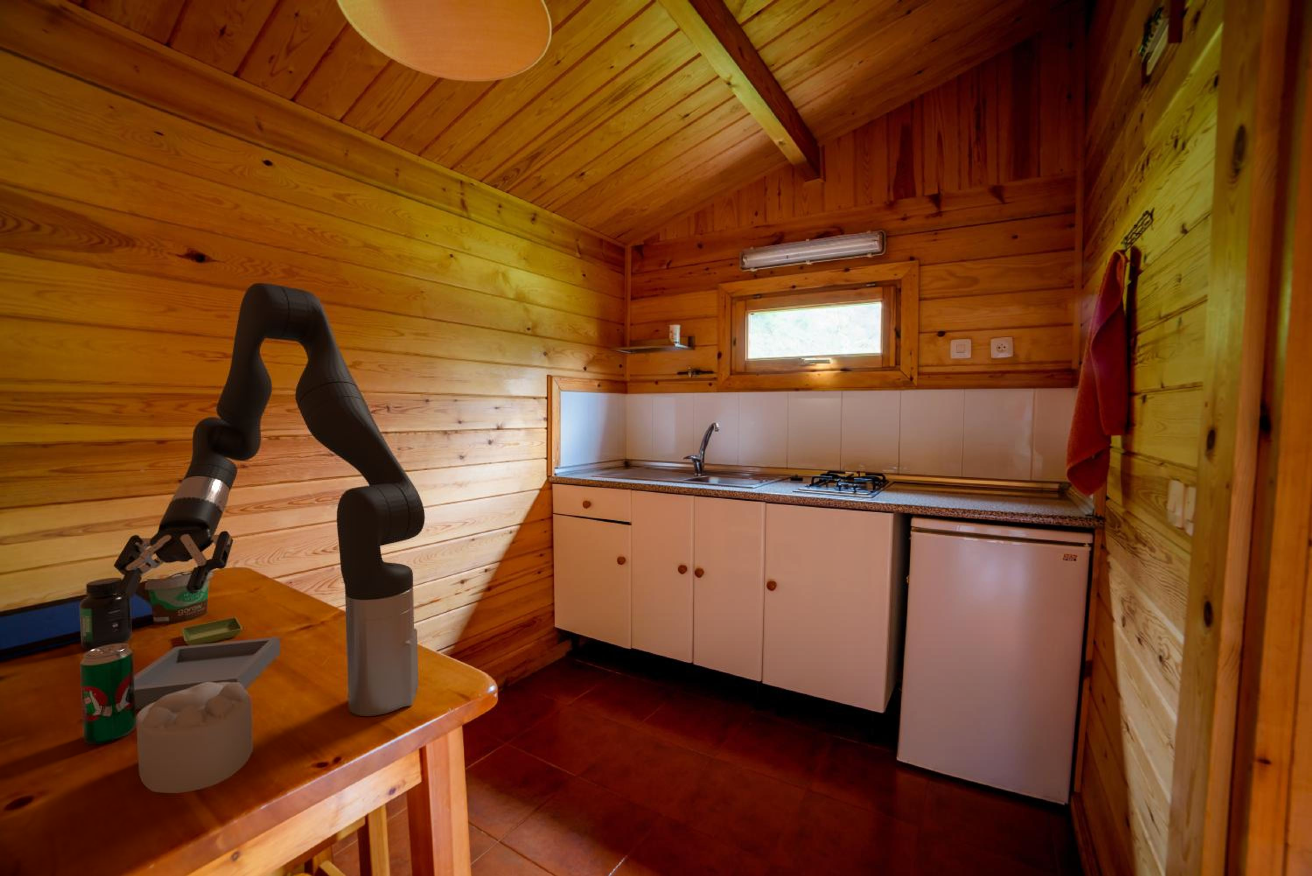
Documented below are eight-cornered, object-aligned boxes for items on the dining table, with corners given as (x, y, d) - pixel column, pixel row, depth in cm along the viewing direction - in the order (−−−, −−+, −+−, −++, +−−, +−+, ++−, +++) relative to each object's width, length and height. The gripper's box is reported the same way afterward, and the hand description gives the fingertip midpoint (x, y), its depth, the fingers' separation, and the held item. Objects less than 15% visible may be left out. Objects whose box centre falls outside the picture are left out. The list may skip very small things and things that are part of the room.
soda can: (133, 720, 78) (129, 638, 77) (139, 734, 74) (135, 648, 74) (82, 737, 74) (77, 651, 73) (86, 751, 70) (81, 661, 70)
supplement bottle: (84, 653, 99) (81, 589, 99) (79, 644, 103) (75, 582, 103) (135, 641, 105) (132, 580, 104) (128, 632, 109) (125, 573, 108)
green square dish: (236, 626, 113) (236, 616, 113) (243, 638, 107) (242, 628, 107) (181, 638, 107) (180, 628, 107) (184, 652, 101) (184, 641, 100)
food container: (170, 629, 110) (167, 581, 109) (146, 627, 111) (143, 579, 111) (229, 608, 122) (227, 564, 122) (206, 606, 123) (205, 563, 123)
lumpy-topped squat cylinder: (231, 726, 76) (228, 666, 76) (269, 760, 69) (266, 694, 68) (130, 766, 68) (127, 698, 67) (161, 809, 60) (158, 734, 60)
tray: (280, 652, 99) (279, 636, 99) (237, 697, 84) (237, 678, 84) (176, 663, 95) (175, 646, 95) (111, 712, 80) (110, 692, 80)
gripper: (136, 497, 90) (88, 586, 80) (236, 494, 94) (202, 578, 84) (158, 522, 96) (115, 608, 85) (251, 518, 99) (221, 600, 89)
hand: (158, 593), depth 84 cm, fingers open, 8 cm apart
